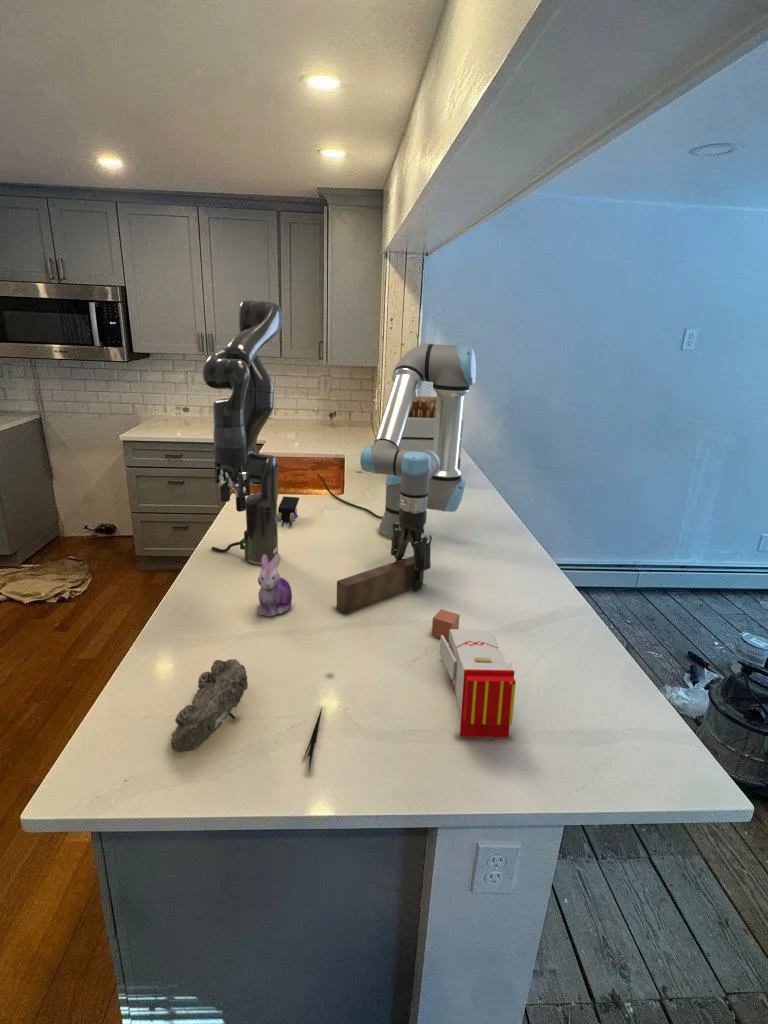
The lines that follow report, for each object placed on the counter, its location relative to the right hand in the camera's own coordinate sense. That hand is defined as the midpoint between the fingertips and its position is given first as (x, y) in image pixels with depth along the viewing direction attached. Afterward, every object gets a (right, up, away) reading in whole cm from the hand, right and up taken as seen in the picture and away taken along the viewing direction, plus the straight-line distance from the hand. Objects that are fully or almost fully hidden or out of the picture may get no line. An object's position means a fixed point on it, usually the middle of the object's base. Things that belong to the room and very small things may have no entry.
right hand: (408, 584), depth 162 cm
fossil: (-39, -18, -54) cm, 69 cm away
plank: (-8, -2, -6) cm, 10 cm away
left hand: (-45, +22, -19) cm, 54 cm away
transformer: (+10, +40, +112) cm, 120 cm away
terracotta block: (+8, -9, -23) cm, 26 cm away
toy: (+11, -17, -44) cm, 48 cm away
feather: (-19, -19, -54) cm, 60 cm away
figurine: (-35, -4, -15) cm, 39 cm away
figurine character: (-42, +17, +44) cm, 63 cm away
